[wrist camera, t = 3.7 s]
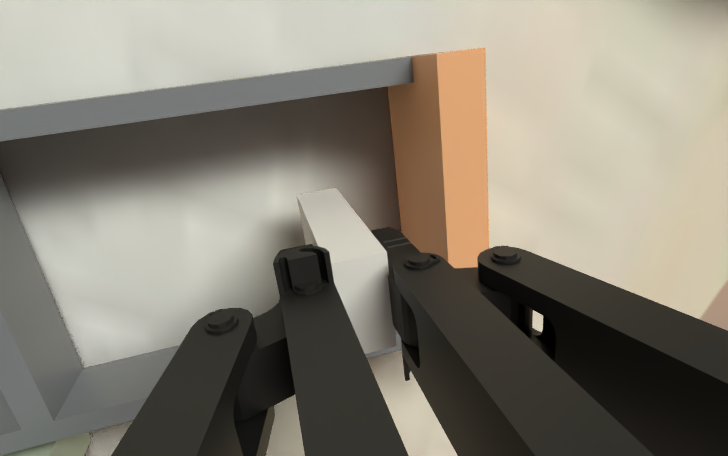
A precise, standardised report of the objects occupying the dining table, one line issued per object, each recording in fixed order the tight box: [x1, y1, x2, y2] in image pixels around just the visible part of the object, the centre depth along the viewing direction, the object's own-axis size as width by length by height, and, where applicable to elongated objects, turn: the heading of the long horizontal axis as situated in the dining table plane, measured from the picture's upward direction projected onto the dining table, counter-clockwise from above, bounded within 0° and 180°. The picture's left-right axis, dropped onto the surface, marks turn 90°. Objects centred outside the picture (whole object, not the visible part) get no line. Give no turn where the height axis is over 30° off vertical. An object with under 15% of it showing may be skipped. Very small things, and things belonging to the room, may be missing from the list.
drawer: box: [0, 48, 489, 455], centre depth 14 cm, size 11×28×5 cm, turn 97°
